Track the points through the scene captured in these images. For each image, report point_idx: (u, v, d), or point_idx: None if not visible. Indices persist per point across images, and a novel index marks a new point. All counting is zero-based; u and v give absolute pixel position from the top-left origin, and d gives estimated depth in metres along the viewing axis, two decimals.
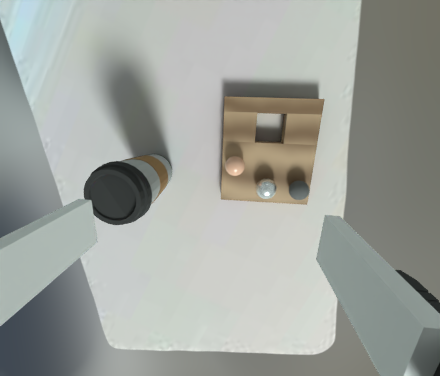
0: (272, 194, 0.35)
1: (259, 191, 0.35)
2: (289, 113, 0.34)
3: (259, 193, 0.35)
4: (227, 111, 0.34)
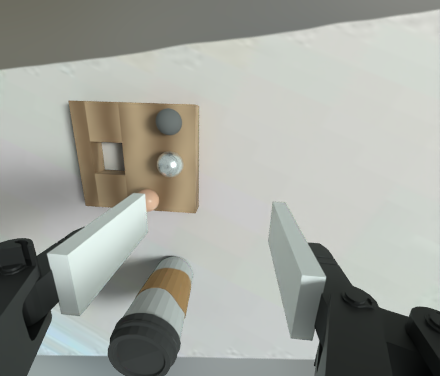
0: (170, 159, 0.27)
1: (168, 175, 0.28)
2: (89, 138, 0.30)
3: (172, 175, 0.28)
4: (98, 203, 0.33)
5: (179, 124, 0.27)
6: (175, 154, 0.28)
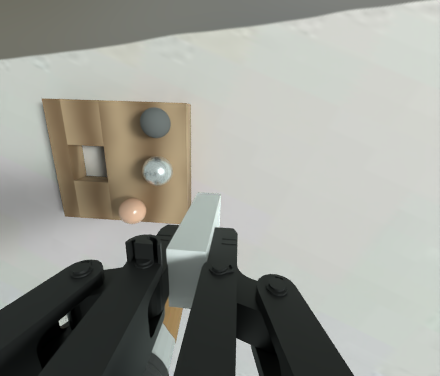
0: (157, 165, 0.24)
1: (155, 183, 0.24)
2: (66, 141, 0.27)
3: (159, 183, 0.24)
4: (79, 213, 0.30)
5: (167, 125, 0.23)
6: (163, 159, 0.24)
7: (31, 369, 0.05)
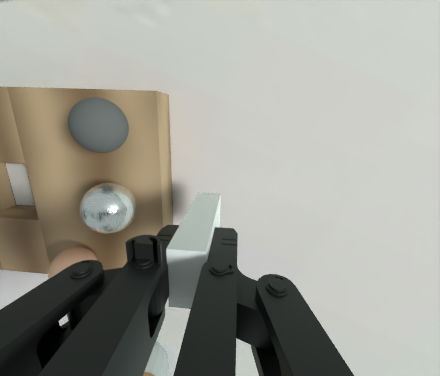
0: (103, 202, 0.13)
1: (102, 231, 0.14)
2: None
3: (109, 231, 0.14)
4: (1, 264, 0.19)
5: (118, 131, 0.13)
6: (116, 190, 0.14)
7: (31, 369, 0.05)
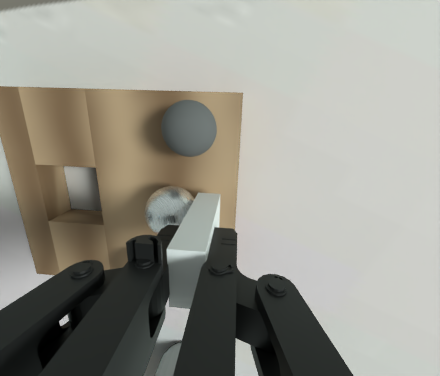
0: (159, 206, 0.13)
1: None
2: (34, 159, 0.16)
3: None
4: (59, 270, 0.19)
5: (213, 134, 0.12)
6: (174, 196, 0.13)
7: (32, 369, 0.05)
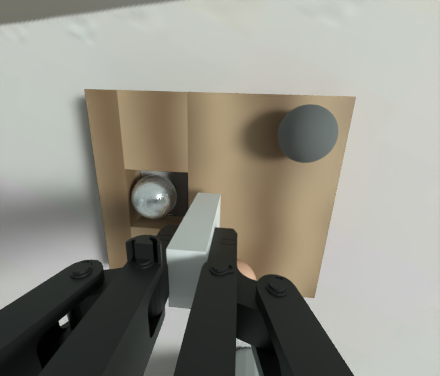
0: (162, 190, 0.16)
1: (158, 216, 0.16)
2: (124, 164, 0.16)
3: (163, 215, 0.17)
4: None
5: (336, 140, 0.12)
6: (165, 180, 0.16)
7: (31, 369, 0.05)
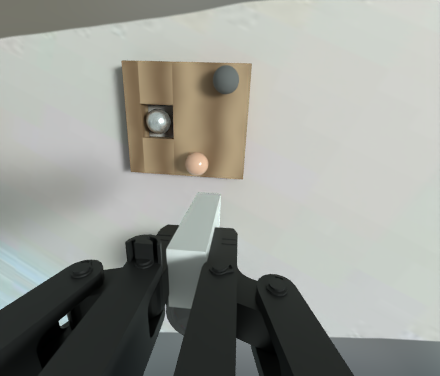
0: (164, 115, 0.30)
1: (162, 130, 0.31)
2: (140, 100, 0.30)
3: (165, 130, 0.31)
4: (144, 169, 0.33)
5: (237, 81, 0.26)
6: (164, 111, 0.31)
7: (31, 369, 0.05)
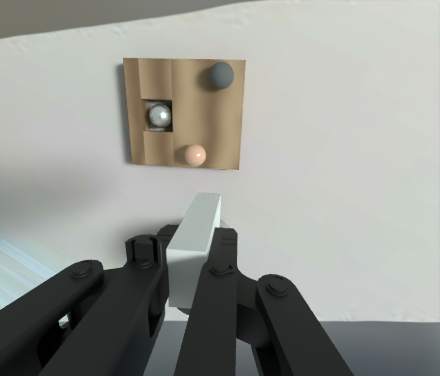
0: (168, 109, 0.32)
1: (166, 123, 0.33)
2: (140, 96, 0.32)
3: (168, 124, 0.33)
4: (145, 161, 0.35)
5: (232, 76, 0.28)
6: (166, 106, 0.33)
7: (31, 369, 0.05)
